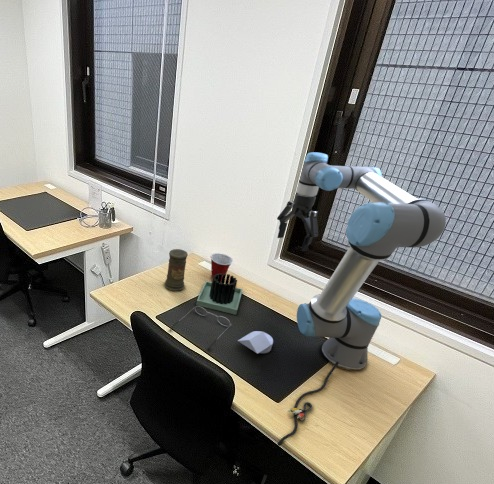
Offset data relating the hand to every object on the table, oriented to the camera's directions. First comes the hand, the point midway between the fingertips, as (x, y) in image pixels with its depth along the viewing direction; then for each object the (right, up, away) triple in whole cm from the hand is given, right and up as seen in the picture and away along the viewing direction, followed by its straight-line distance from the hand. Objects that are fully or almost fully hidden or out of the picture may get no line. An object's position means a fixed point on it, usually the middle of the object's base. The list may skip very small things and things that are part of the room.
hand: (291, 243), depth 159 cm
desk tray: (-27, -24, +14) cm, 39 cm away
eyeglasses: (-39, -36, -6) cm, 53 cm away
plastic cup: (-24, -14, +30) cm, 41 cm away
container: (-47, -18, +23) cm, 55 cm away
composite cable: (-14, -58, -40) cm, 72 cm away
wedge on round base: (-20, -41, -14) cm, 48 cm away
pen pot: (-21, -18, +14) cm, 31 cm away
